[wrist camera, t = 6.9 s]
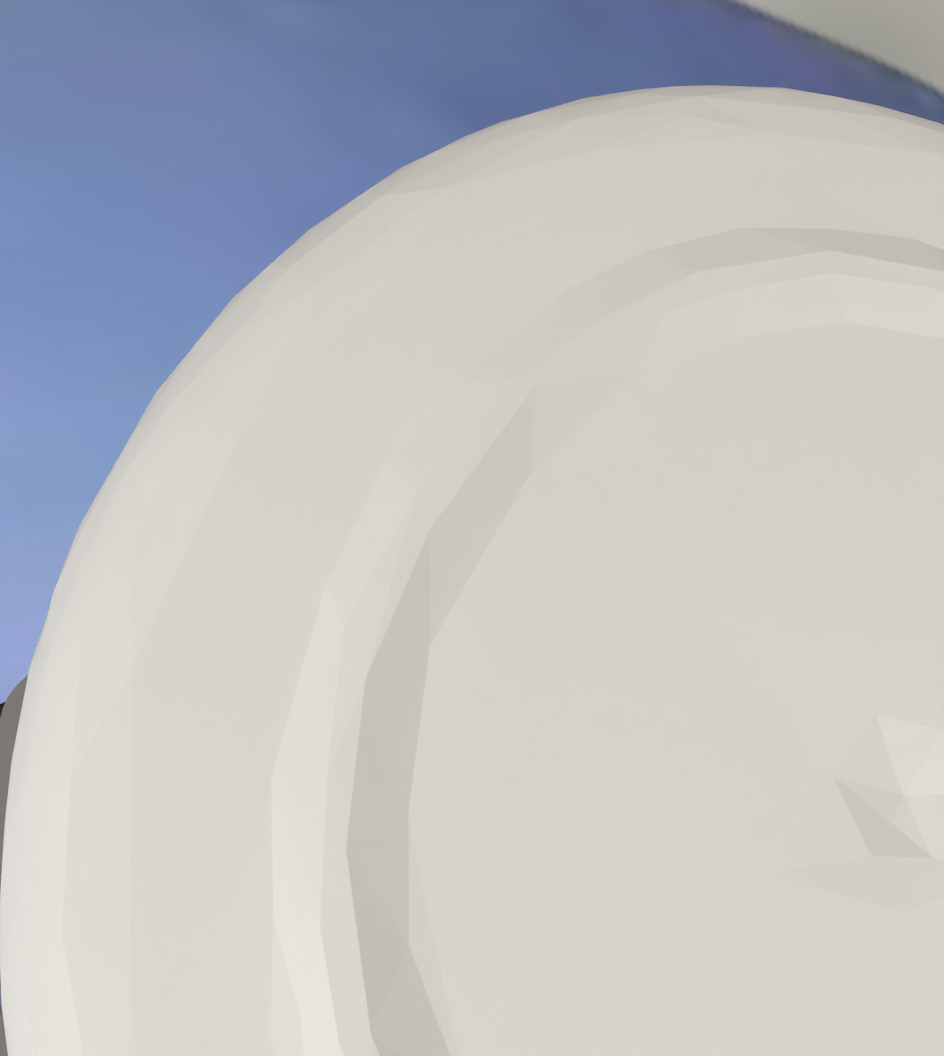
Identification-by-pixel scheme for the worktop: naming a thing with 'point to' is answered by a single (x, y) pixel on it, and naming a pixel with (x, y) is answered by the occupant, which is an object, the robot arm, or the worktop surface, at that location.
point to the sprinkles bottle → (520, 620)
